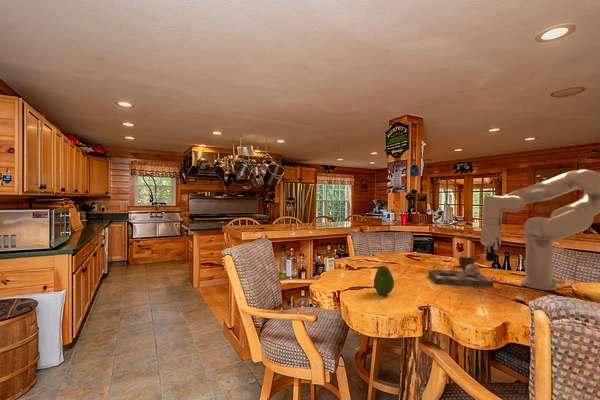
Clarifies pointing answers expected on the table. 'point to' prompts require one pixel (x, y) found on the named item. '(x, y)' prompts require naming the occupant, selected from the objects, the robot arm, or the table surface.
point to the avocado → (383, 281)
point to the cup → (465, 262)
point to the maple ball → (472, 270)
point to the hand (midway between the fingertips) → (490, 260)
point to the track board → (458, 278)
